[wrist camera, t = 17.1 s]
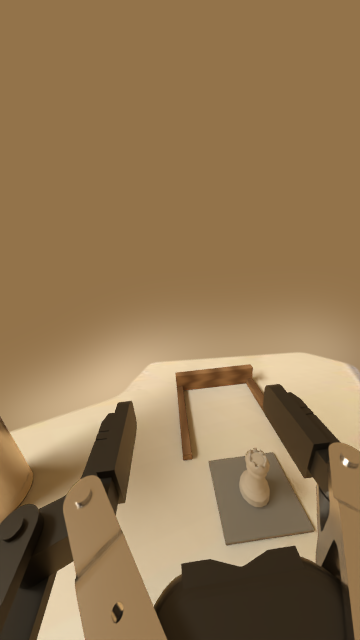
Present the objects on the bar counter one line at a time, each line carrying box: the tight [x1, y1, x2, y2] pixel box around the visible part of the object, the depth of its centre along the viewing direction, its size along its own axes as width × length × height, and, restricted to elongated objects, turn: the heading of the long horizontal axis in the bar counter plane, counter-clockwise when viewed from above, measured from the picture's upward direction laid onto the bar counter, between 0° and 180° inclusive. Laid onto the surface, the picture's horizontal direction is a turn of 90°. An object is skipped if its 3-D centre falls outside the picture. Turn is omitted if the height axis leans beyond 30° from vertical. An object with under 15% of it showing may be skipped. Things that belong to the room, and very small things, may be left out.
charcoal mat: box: [209, 453, 314, 545], centre depth 29 cm, size 12×10×1 cm
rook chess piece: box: [239, 448, 270, 507], centre depth 27 cm, size 4×4×8 cm
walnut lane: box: [176, 365, 265, 460], centre depth 43 cm, size 21×20×5 cm
